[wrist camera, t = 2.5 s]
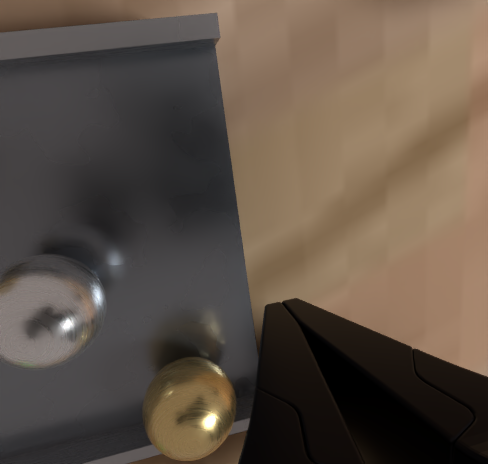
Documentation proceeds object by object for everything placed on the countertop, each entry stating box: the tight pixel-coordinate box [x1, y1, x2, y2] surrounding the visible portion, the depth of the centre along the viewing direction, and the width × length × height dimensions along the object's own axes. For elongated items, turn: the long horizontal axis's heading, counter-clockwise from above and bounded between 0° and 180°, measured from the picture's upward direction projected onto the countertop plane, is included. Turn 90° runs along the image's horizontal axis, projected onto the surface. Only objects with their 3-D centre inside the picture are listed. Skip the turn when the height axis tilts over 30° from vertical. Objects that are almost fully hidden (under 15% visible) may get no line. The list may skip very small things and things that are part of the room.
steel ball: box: [0, 254, 107, 370], centre depth 10 cm, size 3×3×3 cm
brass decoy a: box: [142, 357, 236, 461], centre depth 13 cm, size 3×3×3 cm
